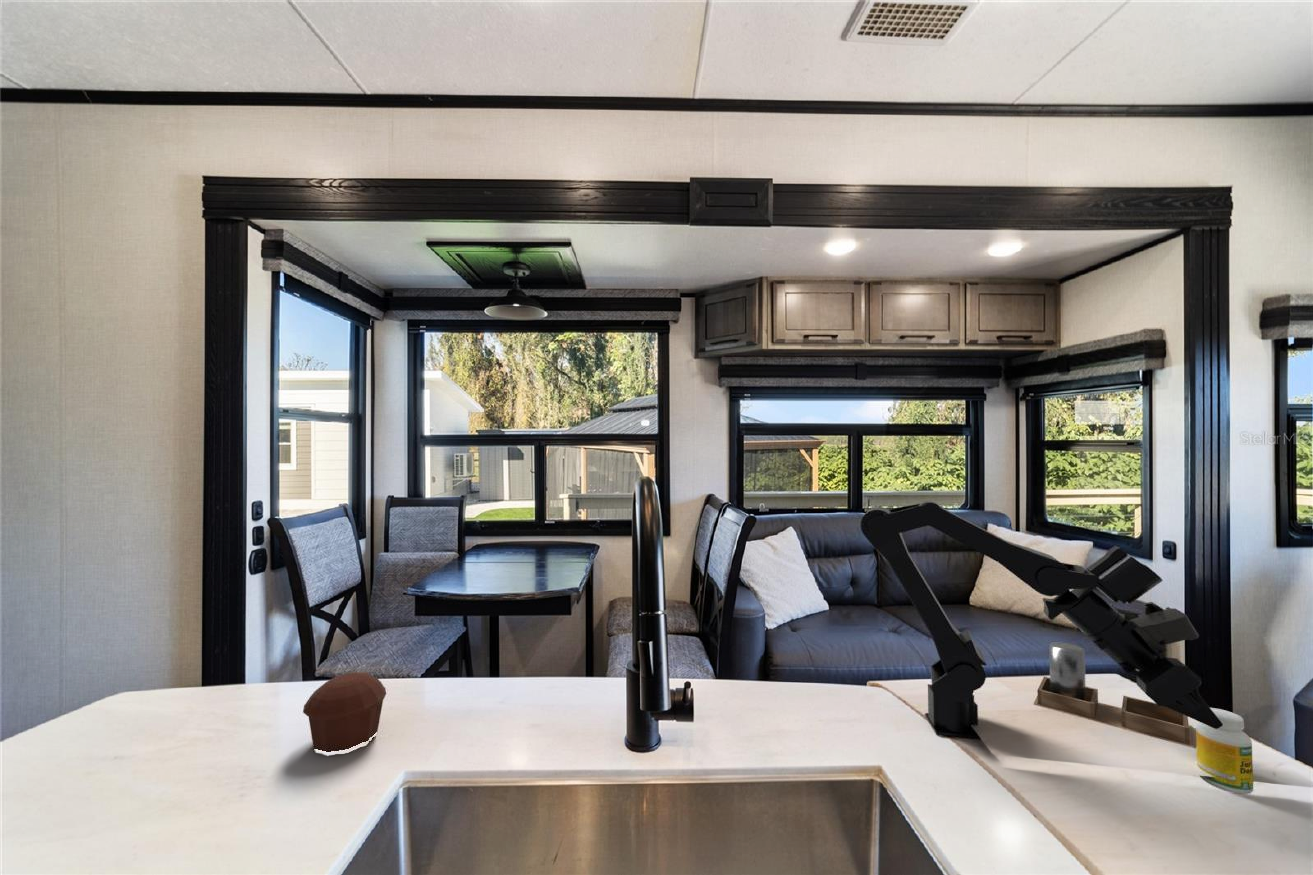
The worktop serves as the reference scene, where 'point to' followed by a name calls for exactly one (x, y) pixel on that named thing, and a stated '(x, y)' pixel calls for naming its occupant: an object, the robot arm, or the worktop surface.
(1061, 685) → the graphite billet
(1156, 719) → the wooden compartment tray
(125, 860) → the worktop surface
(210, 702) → the worktop surface
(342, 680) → the muffin
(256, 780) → the worktop surface
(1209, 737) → the supplement bottle
